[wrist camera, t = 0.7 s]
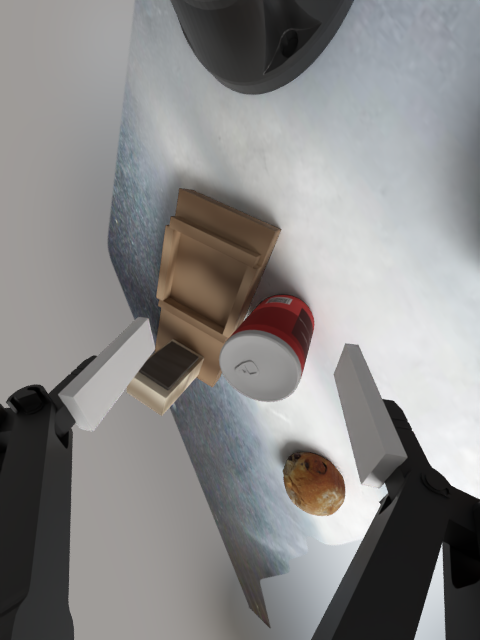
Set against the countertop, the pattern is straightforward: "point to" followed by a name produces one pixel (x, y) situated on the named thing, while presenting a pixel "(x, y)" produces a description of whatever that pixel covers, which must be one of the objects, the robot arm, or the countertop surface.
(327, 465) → the bread roll
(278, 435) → the countertop surface
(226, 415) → the countertop surface
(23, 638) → the robot arm
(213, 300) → the wooden tray stand
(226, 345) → the canned food
